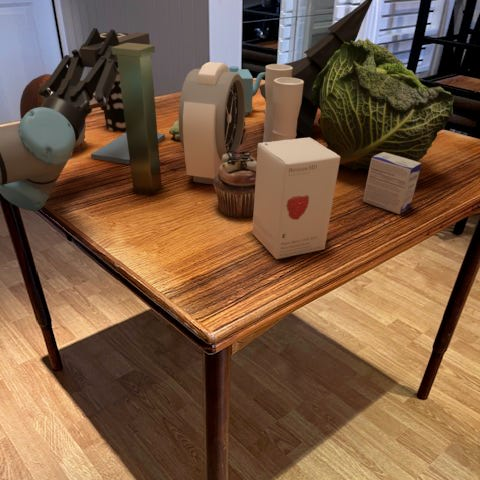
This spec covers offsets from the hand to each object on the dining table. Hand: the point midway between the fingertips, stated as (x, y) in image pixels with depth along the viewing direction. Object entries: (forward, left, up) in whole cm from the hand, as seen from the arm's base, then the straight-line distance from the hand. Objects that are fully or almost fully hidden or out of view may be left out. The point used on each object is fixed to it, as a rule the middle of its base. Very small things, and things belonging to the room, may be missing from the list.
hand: (106, 35), depth 90 cm
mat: (0, +4, -23) cm, 23 cm away
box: (+58, -5, -23) cm, 62 cm away
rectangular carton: (+44, -25, -23) cm, 56 cm away
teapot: (+13, +41, -23) cm, 48 cm away
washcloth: (+13, +20, -23) cm, 33 cm away
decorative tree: (+35, +32, -23) cm, 52 cm away
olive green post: (+14, -15, -23) cm, 31 cm away
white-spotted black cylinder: (-9, +17, -23) cm, 30 cm away
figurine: (-13, -2, -23) cm, 26 cm away
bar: (0, +4, -4) cm, 6 cm away
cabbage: (+52, +13, -23) cm, 58 cm away
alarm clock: (+23, -3, -23) cm, 32 cm away
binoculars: (+34, +6, -23) cm, 41 cm away
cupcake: (+33, -16, -23) cm, 43 cm away
